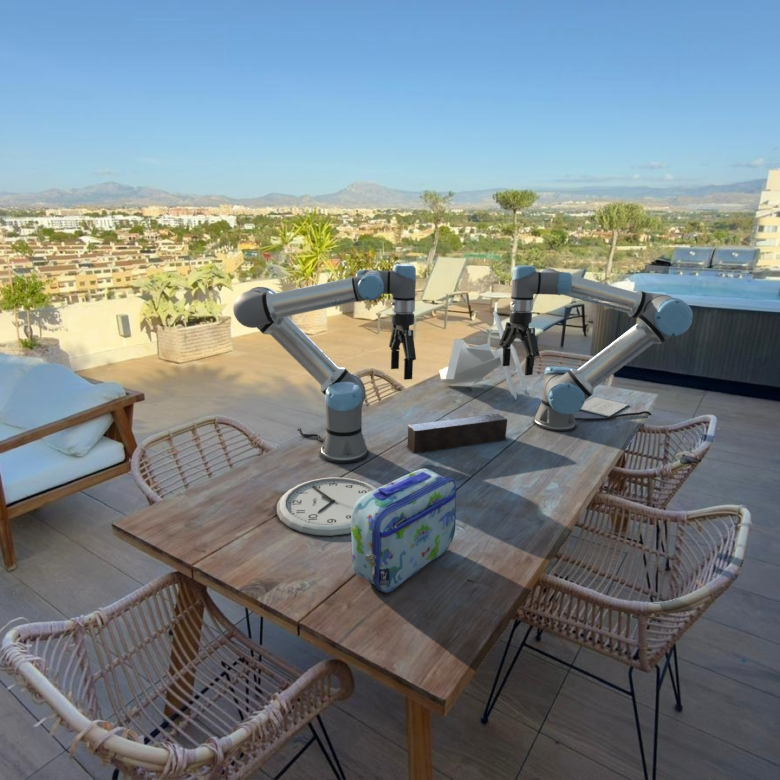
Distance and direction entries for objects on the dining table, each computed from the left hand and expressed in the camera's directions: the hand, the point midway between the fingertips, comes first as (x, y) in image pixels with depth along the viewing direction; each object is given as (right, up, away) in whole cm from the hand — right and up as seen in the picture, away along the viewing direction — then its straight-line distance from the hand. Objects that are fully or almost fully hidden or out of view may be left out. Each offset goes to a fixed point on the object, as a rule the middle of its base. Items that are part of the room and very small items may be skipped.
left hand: (401, 373), depth 180 cm
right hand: (+42, +2, +8) cm, 43 cm away
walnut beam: (+20, -24, +5) cm, 32 cm away
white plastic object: (+38, -7, +63) cm, 74 cm away
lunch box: (-1, -45, -63) cm, 77 cm away
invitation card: (+88, -13, +46) cm, 100 cm away
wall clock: (-20, -37, -37) cm, 56 cm away
